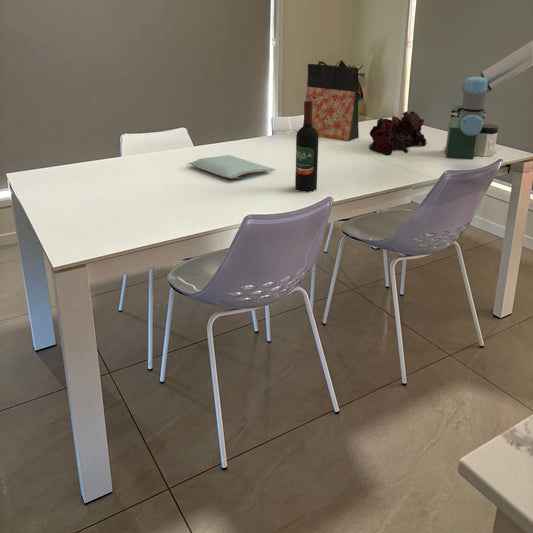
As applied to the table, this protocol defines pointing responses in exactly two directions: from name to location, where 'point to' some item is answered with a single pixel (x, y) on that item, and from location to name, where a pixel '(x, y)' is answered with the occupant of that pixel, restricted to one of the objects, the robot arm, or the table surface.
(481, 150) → the jar
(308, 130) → the wine bottle
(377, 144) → the flower arrangement
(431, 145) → the table surface
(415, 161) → the table surface
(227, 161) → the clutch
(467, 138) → the tea tin
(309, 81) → the gift bag
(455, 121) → the tin lid
